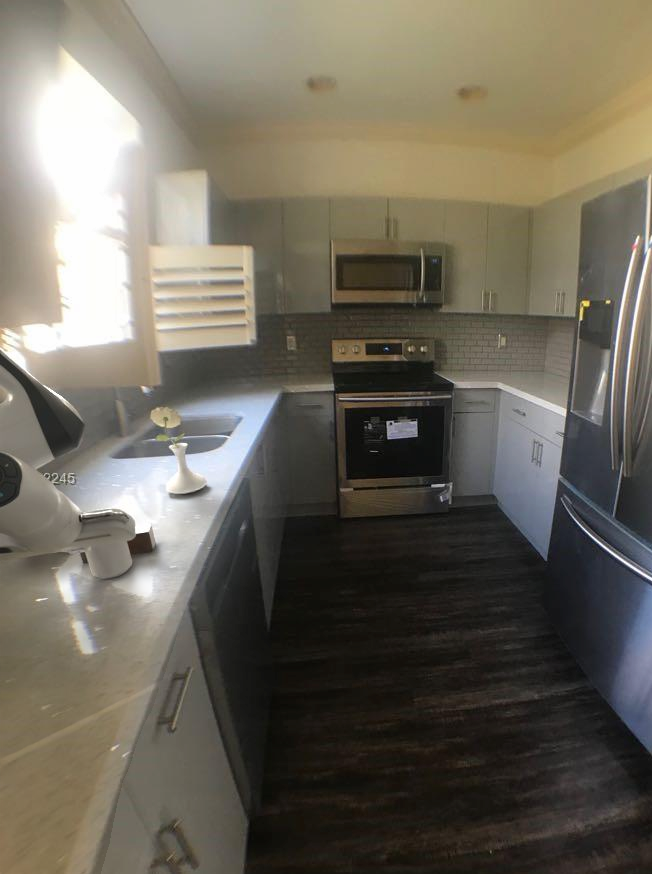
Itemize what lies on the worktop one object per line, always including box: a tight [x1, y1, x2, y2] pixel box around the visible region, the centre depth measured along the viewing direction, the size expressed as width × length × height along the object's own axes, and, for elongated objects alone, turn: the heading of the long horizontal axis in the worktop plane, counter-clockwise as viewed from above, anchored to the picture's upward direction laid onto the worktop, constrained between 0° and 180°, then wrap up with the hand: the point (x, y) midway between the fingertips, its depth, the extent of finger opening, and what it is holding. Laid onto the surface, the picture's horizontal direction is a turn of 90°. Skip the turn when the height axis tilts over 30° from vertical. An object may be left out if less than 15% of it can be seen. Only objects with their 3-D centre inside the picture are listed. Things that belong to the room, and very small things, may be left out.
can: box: [85, 541, 134, 580], centre depth 93 cm, size 8×8×12 cm
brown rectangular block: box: [79, 523, 157, 564], centre depth 101 cm, size 14×4×5 cm, turn 108°
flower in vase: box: [149, 406, 208, 495], centre depth 132 cm, size 13×11×25 cm
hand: (81, 548), depth 80 cm, fingers closed
